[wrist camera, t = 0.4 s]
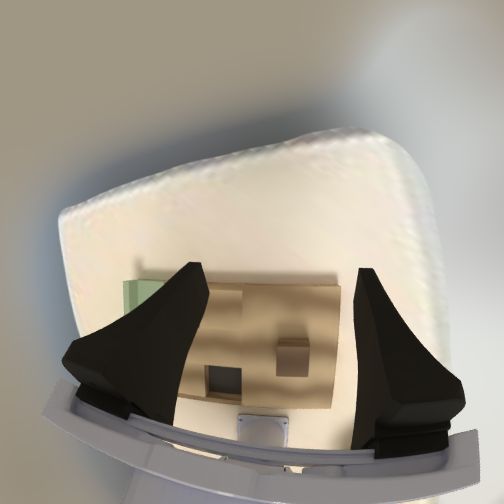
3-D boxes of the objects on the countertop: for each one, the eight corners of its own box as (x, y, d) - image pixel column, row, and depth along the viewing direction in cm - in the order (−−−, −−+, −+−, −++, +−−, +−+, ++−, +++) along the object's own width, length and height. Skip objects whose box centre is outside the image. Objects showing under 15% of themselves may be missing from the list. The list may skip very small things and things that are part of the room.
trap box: (329, 400, 38) (332, 416, 33) (146, 383, 42) (132, 394, 37) (338, 285, 38) (344, 288, 33) (140, 279, 43) (123, 281, 38)
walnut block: (307, 365, 36) (308, 377, 32) (277, 365, 37) (275, 376, 33) (308, 338, 36) (310, 347, 32) (278, 337, 37) (276, 346, 33)
